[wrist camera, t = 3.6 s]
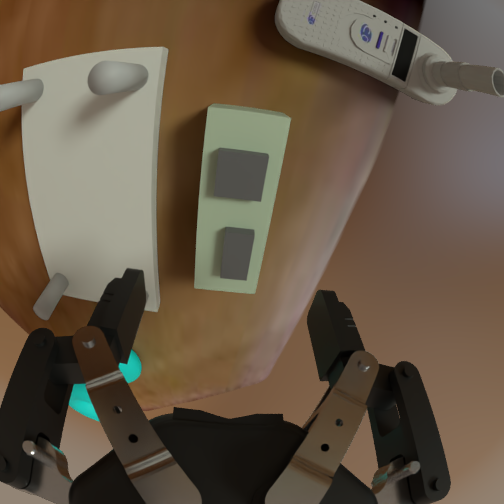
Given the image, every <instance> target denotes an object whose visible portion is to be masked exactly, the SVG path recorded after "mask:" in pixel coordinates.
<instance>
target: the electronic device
mask: <svg viewBox="0 0 504 504" xmlns="http://www.w3.org/2000/svg"><path fill="white" fill-rule="evenodd" d="M275 24H276V27H277V29H278V31H279V33H280V34H281V36H282V37H283V38H284V39H285V40H286V41H288V42H289V43H290V44H292V45H294V46H295V47H297V48H300V49H303V50H306V51H309V52H312V53H315V54H318V55H321V56H323V57H326V58H329V59H331V60H334V61H337V62H339V63H342V64H344V65H346V66H349V67H351V68H354V69H356V70H358V71H360V72H363V73H365V74H367V75H369V76H371V77H373V78H375V79H377V80H379V81H382V82H384V83H385V84H387V85H389V86H391V87H393V88H395V89H397V90H399V91H401V92H403V93H404V94H406V95H408V96H410V97H411V98H413V99H415V100H418V101H421V102H424V103H428V104H432V105H444V104H446V103H448V102H449V101H451V99H452V98H453V97H454V95H455V94H456V91H457V89H460V90H465V91H478V92H483V93H487V94H491V95H495V96H499V97H504V72H503V71H502V70H501V69H499V68H494V67H487V66H479V65H470V64H468V63H465V62H453V61H452V59H451V57H450V56H449V55H448V54H447V53H446V52H445V51H444V50H443V49H442V48H441V47H440V46H438V45H437V44H435V43H434V42H433V41H431V40H430V39H428V38H427V37H425V36H424V35H422V34H420V33H419V32H417V31H416V30H414V29H412V28H411V27H409V26H407V25H406V24H404V23H402V22H401V21H399V20H397V19H395V18H394V17H392V16H390V15H388V14H386V13H384V12H382V11H380V10H378V9H376V8H374V7H372V6H370V5H368V4H366V3H364V2H361V1H359V0H280V1H279V4H278V7H277V10H276V13H275Z"/></svg>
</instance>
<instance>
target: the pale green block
mask: <svg viewBox="0 0 504 504" xmlns="http://www.w3.org/2000/svg"><path fill="white" fill-rule="evenodd" d="M290 122H291V118H290V117H288V116H287V115H285V114H284V113H282V112H276V111H270V110H264V109H257V108H250V107H242V106H234V105H225V104H215V103H214V104H212V105H211V106H209V107H208V112H207V120H206V129H205V138H204V147H203V157H202V168H201V179H200V191H199V205H198V219H197V236H196V257H195V285H194V288H198V289H207V290H217V291H227V292H238V293H249V294H255V291H256V287H257V282H258V277H259V273H260V268H261V263H262V259H263V254H264V249H265V245H266V240H267V235H268V230H269V225H270V221H271V216H272V211H273V206H274V201H275V196H276V192H277V187H278V182H279V177H280V172H281V167H282V162H283V157H284V152H285V147H286V142H287V137H288V132H289V127H290Z"/></svg>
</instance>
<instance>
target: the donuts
mask: <svg viewBox="0 0 504 504" xmlns="http://www.w3.org/2000/svg"><path fill="white" fill-rule="evenodd" d="M119 369H120V371H121V372H122V374H123V376H124V377H125V379H126V381H127V383H130V382H133V381H134V380H136V379H137V378H138V377H139V375H140V373H141V369H142V367H141V362H140V359H139V357H138V356H137V354H136V353H135V352H134V351H133V350H131V353H130V357H129V360H128V364H123V363H120V364H119ZM85 385H86V384H74V386H73V390H72V393H71V397H70V401H69V406H71V407H72V408H73V409H74V410H76V411H78V412H79V413H81V414H83V415H85V416H87V417H89V418H91V419H94V420H97V421H99V418H98V416H97V414H96V412H95V409H94V407H93V405H92V402H91V400H90V398H89V395H88V393H87V390H86V386H85Z"/></svg>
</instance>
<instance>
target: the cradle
mask: <svg viewBox="0 0 504 504" xmlns="http://www.w3.org/2000/svg"><path fill="white" fill-rule="evenodd" d="M168 50H169V49H167V48H164V47H146V48H130V49H119V50H110V51H102V52H95V53H89V54H83V55H77V56H72V57H67V58H62V59H58V60H54V61H50V62H46V63H42V64H38V65H35V66H31V67H28V68H25V69H24V71H23V81H19V82H13V83H8V84H3V85H0V111H3V110H6V109H10V108H13V107H16V106H20V105H22V141H23V154H24V164H25V173H26V181H27V187H28V194H29V200H30V205H31V210H32V215H33V220H34V224H35V229H36V233H37V237H38V241H39V245H40V248H41V252H42V255H43V259H44V262H45V265H46V269H47V272H48V275H49V278H50V282H49V283H48V285H47V286H46V288H45V289H44V291H43V292H42V294H41V295H40V297H39V299H38V300H37V302H36V303H35V305H34V307H33V310H34V312H35V313H36V315H37V316H38V317H40V318H41V319H43V320H48V319H49V317H50V316H51V314H52V312H53V310H54V309H55V307H56V305H57V303H58V302H59V300H60V298H61V297H62V295H66V296H70V297H75V298H80V299H85V300H90V301H95V302H99V301H100V298H101V296H102V294H103V292H104V290H105V288H106V286H107V284H108V283H109V282H111V281H112V280H113V279H114V278H115V277H116V278H122V276H123V274H124V272H125V270H126V269H127V268H132V269H139V270H143V271H144V279H145V289H146V305H145V309H144V310H147V311H154V312H158V308H159V305H160V292H159V277H158V258H157V225H156V191H157V158H158V140H159V126H160V114H161V103H162V94H163V85H164V77H165V70H166V63H167V56H168ZM139 325H140V324H139ZM138 328H139V327H138ZM137 331H138V330H137ZM136 334H137V333H136Z"/></svg>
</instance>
